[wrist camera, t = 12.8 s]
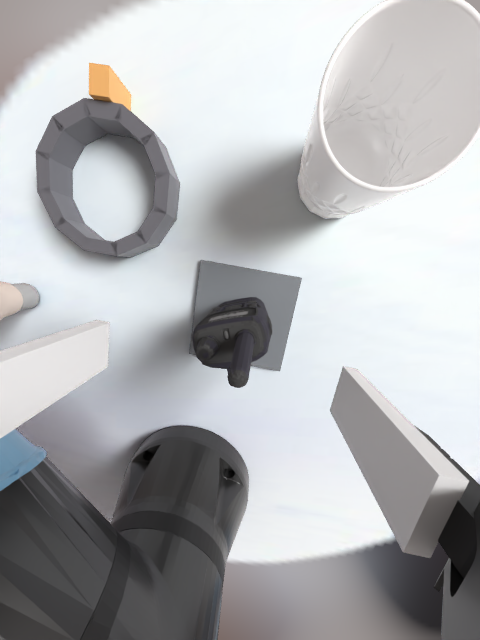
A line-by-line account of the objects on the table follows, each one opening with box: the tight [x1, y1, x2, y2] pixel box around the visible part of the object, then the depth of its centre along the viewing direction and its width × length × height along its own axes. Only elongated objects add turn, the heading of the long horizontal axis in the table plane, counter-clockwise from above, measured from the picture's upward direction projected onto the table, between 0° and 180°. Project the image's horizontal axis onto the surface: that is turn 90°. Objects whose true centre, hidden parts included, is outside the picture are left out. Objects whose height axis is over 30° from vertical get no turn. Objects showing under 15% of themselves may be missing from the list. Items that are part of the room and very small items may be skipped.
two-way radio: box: [192, 297, 272, 388], centre depth 16 cm, size 6×4×15 cm
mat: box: [189, 260, 302, 371], centre depth 24 cm, size 10×10×1 cm
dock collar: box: [36, 63, 180, 257], centre depth 20 cm, size 14×12×3 cm
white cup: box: [297, 0, 480, 219], centre depth 15 cm, size 8×8×10 cm
